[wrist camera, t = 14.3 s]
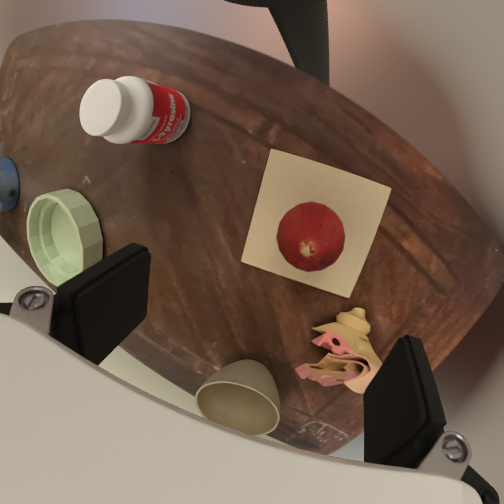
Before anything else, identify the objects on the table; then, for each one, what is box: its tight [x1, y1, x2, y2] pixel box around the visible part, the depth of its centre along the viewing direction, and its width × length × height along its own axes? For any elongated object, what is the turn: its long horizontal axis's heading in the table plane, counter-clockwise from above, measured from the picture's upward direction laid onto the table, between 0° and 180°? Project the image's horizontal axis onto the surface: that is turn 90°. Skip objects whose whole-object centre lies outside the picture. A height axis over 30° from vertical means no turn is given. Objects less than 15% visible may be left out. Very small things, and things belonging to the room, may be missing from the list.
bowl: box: [27, 189, 103, 287], centre depth 35 cm, size 13×13×4 cm
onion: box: [276, 201, 345, 272], centre depth 25 cm, size 6×6×8 cm
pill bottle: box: [80, 76, 190, 144], centre depth 24 cm, size 6×6×11 cm
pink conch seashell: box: [295, 308, 382, 393], centre depth 29 cm, size 9×10×10 cm
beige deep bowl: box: [195, 359, 280, 437], centre depth 33 cm, size 10×10×7 cm
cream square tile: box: [241, 149, 391, 298], centre depth 28 cm, size 12×12×1 cm
